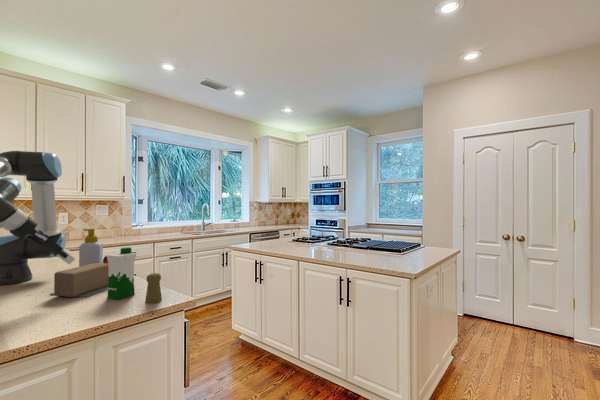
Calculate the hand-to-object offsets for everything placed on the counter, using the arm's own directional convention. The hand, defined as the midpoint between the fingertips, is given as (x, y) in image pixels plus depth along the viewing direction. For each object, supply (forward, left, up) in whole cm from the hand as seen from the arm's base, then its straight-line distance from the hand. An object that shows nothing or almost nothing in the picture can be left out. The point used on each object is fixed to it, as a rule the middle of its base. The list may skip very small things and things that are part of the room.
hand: (71, 261), depth 121 cm
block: (+2, -2, -10) cm, 10 cm away
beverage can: (-28, -7, -15) cm, 33 cm away
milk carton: (-4, +19, -15) cm, 25 cm away
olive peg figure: (-1, +36, -15) cm, 39 cm away
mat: (-10, -3, -15) cm, 19 cm away
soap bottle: (-31, -21, -15) cm, 41 cm away
